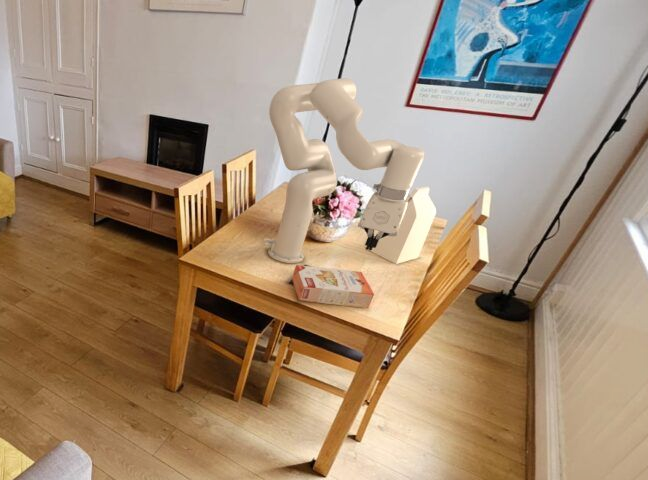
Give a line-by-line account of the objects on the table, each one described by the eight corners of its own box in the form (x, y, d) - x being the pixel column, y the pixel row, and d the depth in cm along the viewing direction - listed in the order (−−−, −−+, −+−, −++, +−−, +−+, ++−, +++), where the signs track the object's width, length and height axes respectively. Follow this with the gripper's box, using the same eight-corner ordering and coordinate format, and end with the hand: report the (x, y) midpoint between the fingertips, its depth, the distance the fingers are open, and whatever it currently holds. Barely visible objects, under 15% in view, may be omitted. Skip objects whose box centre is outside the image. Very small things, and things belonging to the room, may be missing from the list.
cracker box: (375, 292, 136) (303, 285, 140) (368, 309, 140) (298, 301, 143) (362, 270, 148) (295, 264, 151) (355, 285, 151) (290, 279, 154)
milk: (396, 263, 164) (426, 196, 149) (368, 250, 173) (395, 185, 158) (418, 257, 168) (450, 191, 153) (390, 244, 177) (418, 180, 162)
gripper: (361, 189, 130) (340, 245, 141) (420, 202, 122) (393, 260, 133) (367, 182, 135) (346, 237, 145) (425, 194, 127) (398, 251, 138)
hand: (369, 248), depth 139 cm, fingers closed
